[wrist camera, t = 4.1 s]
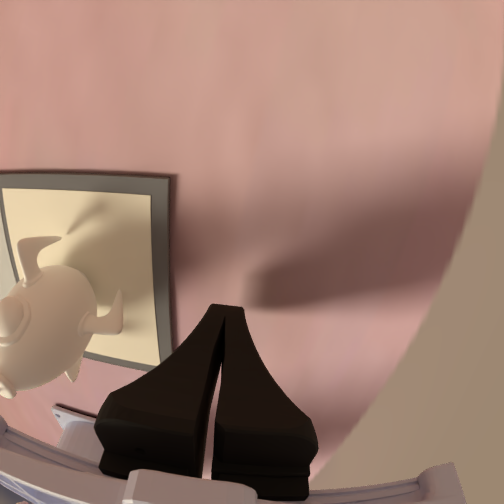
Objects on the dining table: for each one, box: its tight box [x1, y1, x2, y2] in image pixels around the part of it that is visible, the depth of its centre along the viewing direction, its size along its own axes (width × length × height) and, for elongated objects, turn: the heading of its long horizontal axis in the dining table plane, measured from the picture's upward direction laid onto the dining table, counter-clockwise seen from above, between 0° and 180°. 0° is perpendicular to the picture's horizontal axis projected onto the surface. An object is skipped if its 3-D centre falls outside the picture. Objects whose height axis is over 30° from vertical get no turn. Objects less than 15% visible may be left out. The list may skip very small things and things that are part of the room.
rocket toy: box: [0, 236, 123, 399], centre depth 11 cm, size 5×5×8 cm
